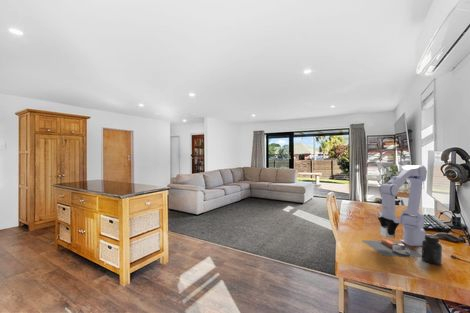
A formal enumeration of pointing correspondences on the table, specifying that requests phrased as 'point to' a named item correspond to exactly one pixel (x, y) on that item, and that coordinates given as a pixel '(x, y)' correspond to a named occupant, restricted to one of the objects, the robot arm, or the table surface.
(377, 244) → the mat
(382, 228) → the socket
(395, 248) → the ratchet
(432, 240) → the supplement bottle
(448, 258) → the table surface
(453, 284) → the table surface
